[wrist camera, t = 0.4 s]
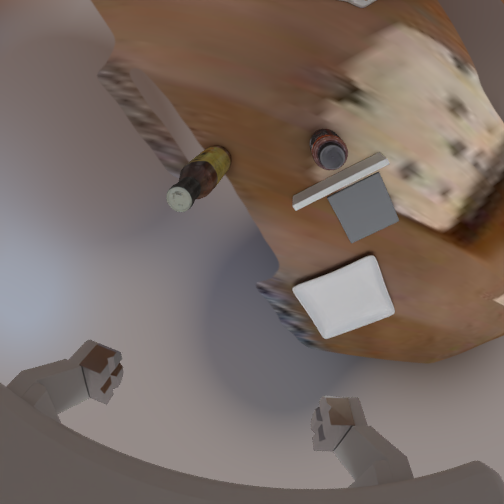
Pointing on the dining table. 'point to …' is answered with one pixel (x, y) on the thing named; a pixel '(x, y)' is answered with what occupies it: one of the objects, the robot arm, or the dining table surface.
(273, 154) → the dining table surface
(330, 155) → the supplement bottle
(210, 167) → the sauce bottle
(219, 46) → the dining table surface
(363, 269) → the salad plate
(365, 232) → the rubber mat
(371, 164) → the acrylic wall
